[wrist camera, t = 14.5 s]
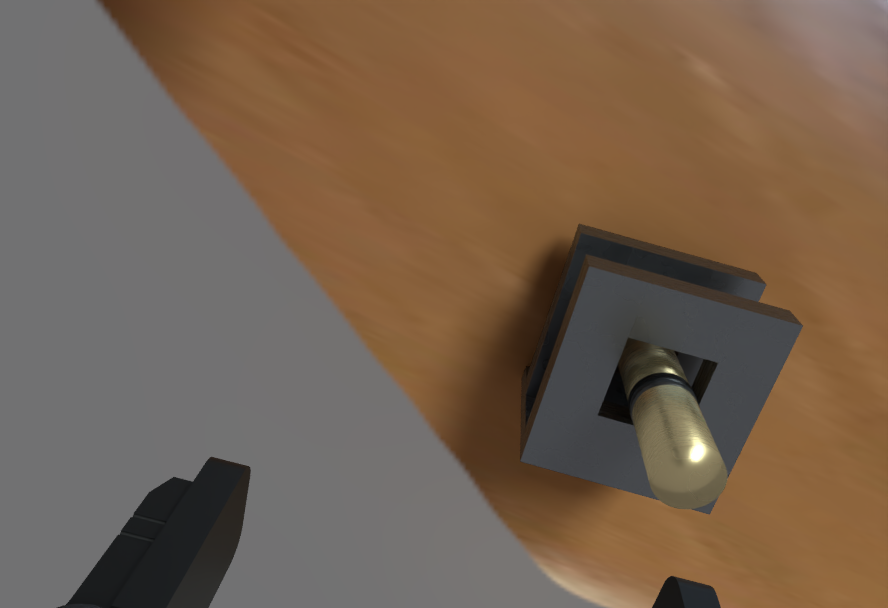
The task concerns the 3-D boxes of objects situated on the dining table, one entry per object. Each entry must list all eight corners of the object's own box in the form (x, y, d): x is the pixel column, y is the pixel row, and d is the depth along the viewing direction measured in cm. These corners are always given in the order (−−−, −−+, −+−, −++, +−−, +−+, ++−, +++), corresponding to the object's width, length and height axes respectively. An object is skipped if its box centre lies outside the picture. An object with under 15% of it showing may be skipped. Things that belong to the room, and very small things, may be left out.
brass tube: (615, 286, 47) (664, 435, 30) (664, 300, 47) (741, 456, 30) (598, 331, 48) (636, 498, 31) (646, 345, 48) (710, 518, 31)
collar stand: (576, 215, 45) (589, 266, 36) (746, 262, 45) (803, 325, 36) (521, 378, 50) (520, 461, 41) (676, 421, 50) (709, 514, 41)
